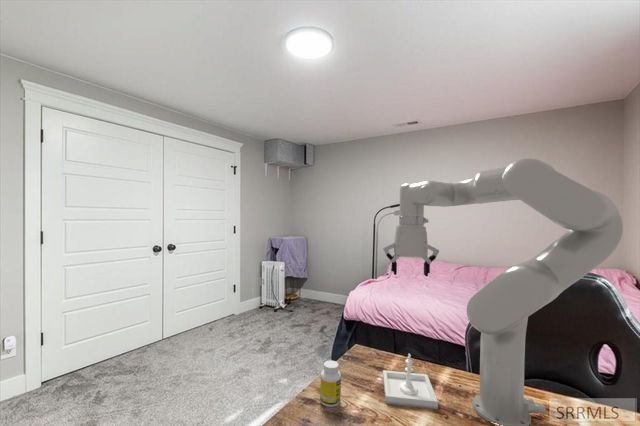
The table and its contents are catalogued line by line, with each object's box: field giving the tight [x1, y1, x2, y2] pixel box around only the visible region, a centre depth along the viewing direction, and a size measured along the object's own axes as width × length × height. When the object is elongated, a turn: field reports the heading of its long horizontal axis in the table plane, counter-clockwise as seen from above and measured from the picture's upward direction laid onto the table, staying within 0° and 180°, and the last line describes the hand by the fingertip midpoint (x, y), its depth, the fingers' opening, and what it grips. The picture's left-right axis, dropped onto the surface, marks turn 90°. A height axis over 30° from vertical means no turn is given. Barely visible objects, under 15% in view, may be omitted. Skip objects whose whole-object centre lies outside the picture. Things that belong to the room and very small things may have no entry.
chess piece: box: [399, 353, 418, 395], centre depth 83 cm, size 5×5×10 cm
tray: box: [382, 369, 439, 410], centre depth 83 cm, size 13×13×2 cm
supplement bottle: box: [319, 360, 342, 408], centre depth 78 cm, size 5×5×10 cm
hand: (410, 274), depth 96 cm, fingers open, 9 cm apart
